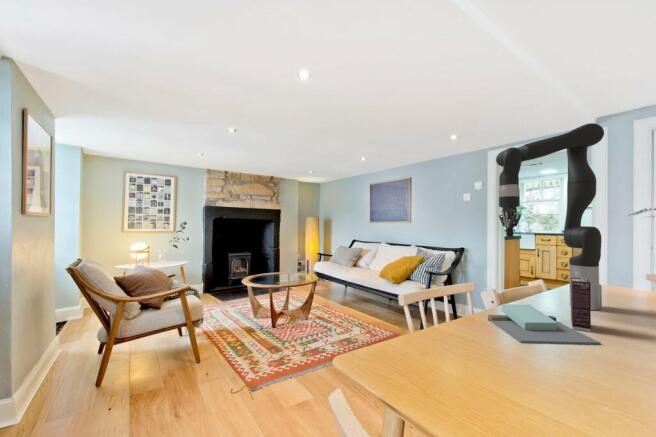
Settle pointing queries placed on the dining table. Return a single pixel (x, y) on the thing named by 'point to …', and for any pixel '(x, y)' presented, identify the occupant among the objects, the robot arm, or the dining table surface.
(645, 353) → the dining table surface
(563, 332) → the grey board with ledge
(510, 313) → the tile
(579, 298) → the supplement box
